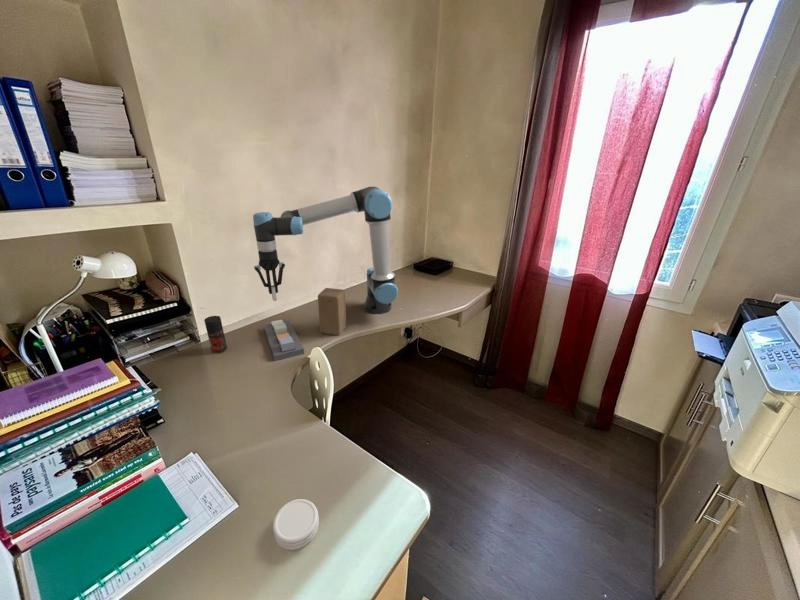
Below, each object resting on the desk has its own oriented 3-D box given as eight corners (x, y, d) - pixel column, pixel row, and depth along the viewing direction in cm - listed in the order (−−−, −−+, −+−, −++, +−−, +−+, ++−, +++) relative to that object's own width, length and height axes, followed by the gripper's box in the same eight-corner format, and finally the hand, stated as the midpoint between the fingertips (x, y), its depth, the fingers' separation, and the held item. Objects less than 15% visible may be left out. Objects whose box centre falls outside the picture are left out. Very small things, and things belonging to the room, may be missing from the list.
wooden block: (339, 336, 157) (337, 297, 149) (319, 333, 159) (316, 295, 151) (347, 326, 166) (345, 288, 158) (328, 323, 168) (325, 286, 160)
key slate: (291, 343, 146) (291, 336, 145) (294, 348, 142) (293, 341, 141) (280, 346, 144) (279, 338, 143) (282, 351, 140) (281, 344, 139)
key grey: (282, 325, 164) (282, 319, 162) (284, 330, 160) (284, 323, 158) (272, 328, 161) (271, 321, 160) (273, 332, 157) (272, 326, 156)
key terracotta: (288, 339, 153) (288, 332, 151) (291, 344, 149) (290, 337, 147) (277, 341, 150) (276, 335, 149) (279, 347, 146) (278, 340, 145)
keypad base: (289, 324, 167) (289, 320, 166) (304, 353, 144) (303, 348, 143) (264, 329, 161) (263, 325, 160) (274, 360, 138) (274, 355, 137)
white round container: (265, 541, 76) (262, 531, 74) (292, 501, 84) (291, 492, 83) (302, 559, 73) (301, 549, 71) (327, 516, 81) (326, 506, 80)
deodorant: (208, 352, 143) (200, 320, 137) (219, 345, 148) (212, 314, 142) (219, 354, 141) (212, 323, 135) (230, 347, 146) (223, 317, 140)
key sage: (285, 329, 157) (284, 322, 156) (287, 333, 153) (286, 327, 152) (274, 331, 155) (273, 324, 154) (276, 336, 151) (275, 329, 150)
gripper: (281, 245, 150) (287, 294, 160) (249, 249, 145) (258, 299, 154) (284, 250, 144) (290, 300, 154) (252, 253, 139) (260, 305, 148)
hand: (274, 299), depth 154 cm, fingers closed
